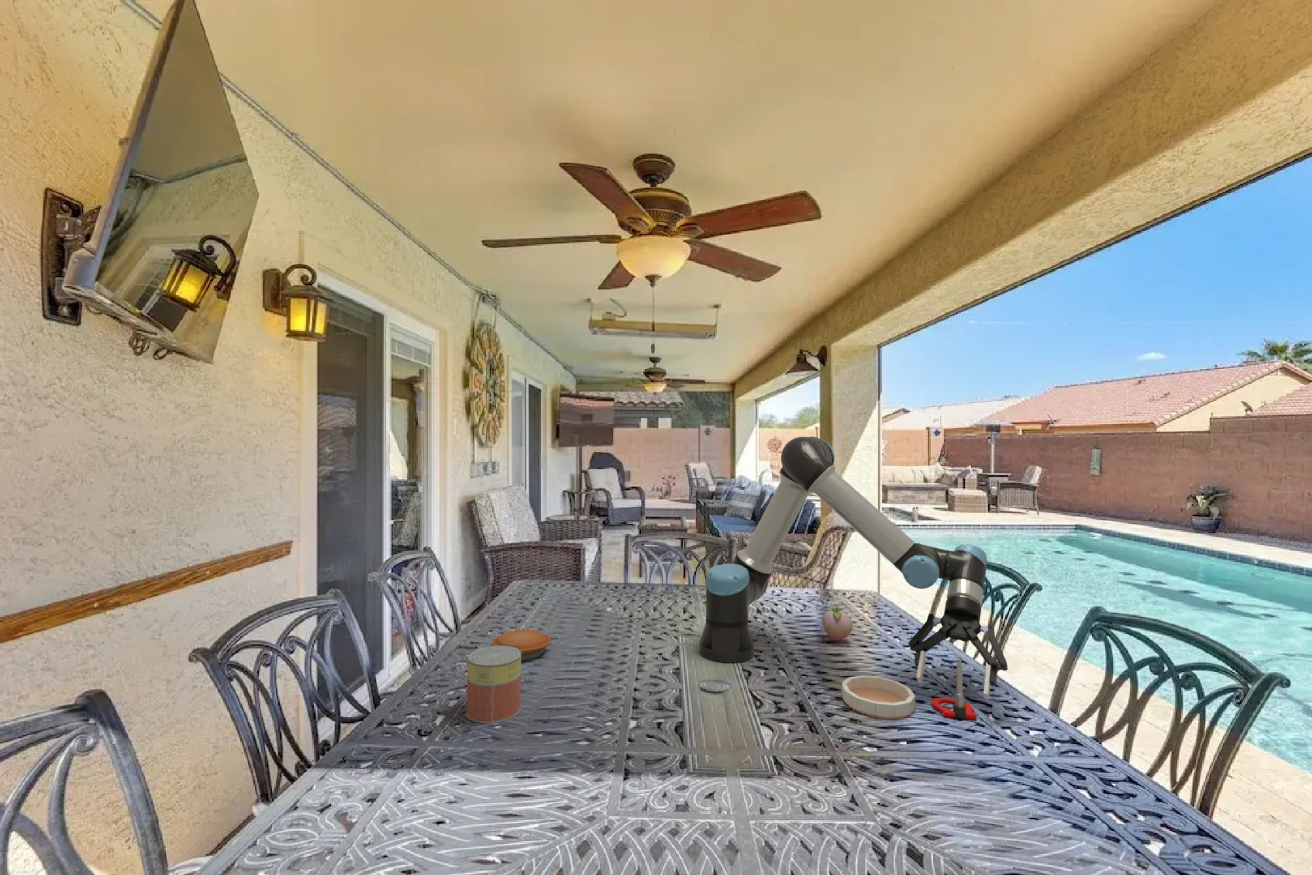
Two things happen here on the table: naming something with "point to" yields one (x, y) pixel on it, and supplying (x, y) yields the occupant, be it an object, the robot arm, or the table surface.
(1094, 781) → the table surface
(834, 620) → the decorative fruit
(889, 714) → the round tray
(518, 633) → the pie
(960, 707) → the tow hook
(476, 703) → the canned food
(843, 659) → the table surface
